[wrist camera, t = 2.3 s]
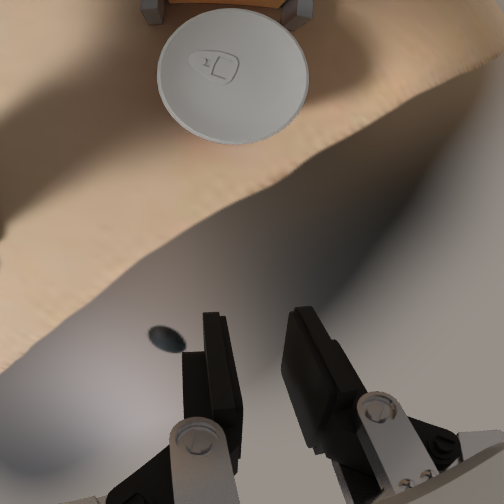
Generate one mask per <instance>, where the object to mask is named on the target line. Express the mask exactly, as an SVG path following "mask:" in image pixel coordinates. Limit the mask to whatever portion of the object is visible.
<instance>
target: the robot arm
mask: <svg viewBox="0 0 504 504" xmlns="http://www.w3.org/2000/svg"><path fill="white" fill-rule="evenodd" d="M203 332H204V333H203V335H204V351H202V352H182V372H183V373H182V376H183V405H184V420H182V421H180V422H178V423H177V424H176V425H175V426H174V427H173V429H172V431H171V433H170V438H169V443H170V444H169V445H168V446H167V447H166V448H165V449H163V450H162V451H161V452H160V453H158V454H157V455H156V456H155V457H153V458H152V459H151V460H150V461H148V462H147V463H146V464H145V465H143V466H142V467H141V468H140V469H138V470H137V471H136V472H135V473H133V474H132V475H130V476H129V477H128V478H127V479H125V480H124V481H123V482H121V483H120V484H119V485H117V486H116V487H115V488H113V489H112V490H111V491H110V492H109V493H108V495H106V496H102V497H99V498H96V497H95V496H92V497H88V498H84V499H79V500H75V501H71V502H66V503H60V504H240V501H239V497H238V492H237V488H236V483H235V479H234V475H235V474H236V473H237V469H238V459H240V457H241V442H242V424H243V402H242V396H241V391H240V387H239V382H238V377H237V372H236V367H235V362H234V357H233V352H232V347H231V342H230V337H229V331H228V326H227V321H226V317H225V316H220V315H219V312H205V313H203ZM281 373H282V377H283V380H284V382H285V385H286V388H287V391H288V394H289V397H290V400H291V402H292V405H293V408H294V411H295V414H296V416H297V419H298V422H299V425H300V428H301V430H302V433H303V436H304V439H305V442H306V444H307V446H308V448H312V447H313V450H314V453H315V455H318V454H322V453H325V455H326V457H327V458H329V459H331V461H332V465H333V468H334V471H335V473H336V476H337V479H338V482H339V485H340V487H341V490H342V493H343V496H344V498H345V501H346V504H504V432H503V431H501V430H487V431H474V432H458V433H457V435H455V434H454V433H453V432H451V431H449V430H447V429H443V428H440V427H437V426H434V425H431V424H428V423H425V422H422V421H420V420H417V419H414V418H411V417H408V416H407V415H406V414H405V412H404V410H403V409H402V407H401V405H400V403H399V402H398V401H397V400H396V399H395V398H394V397H393V396H391V395H389V394H387V393H384V392H379V391H374V392H369V393H368V392H367V390H366V389H365V387H364V386H363V384H362V382H361V380H360V378H359V377H358V375H357V373H356V372H355V370H354V368H353V366H352V365H351V363H350V361H349V359H348V358H347V356H346V354H345V353H344V351H343V349H342V348H341V346H340V344H339V343H338V342H337V341H336V340H335V339H334V340H331V338H330V336H329V335H328V333H327V332H326V329H325V328H324V326H323V324H322V323H321V321H320V319H319V317H318V316H317V314H316V312H315V311H314V309H313V307H312V306H304V307H295V309H294V311H292V312H290V313H289V318H288V324H287V331H286V337H285V345H284V351H283V357H282V363H281Z"/></svg>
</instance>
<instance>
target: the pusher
mask: <svg viewBox="0 0 504 504" xmlns="http://www.w3.org/2000/svg"><path fill="white" fill-rule="evenodd" d="M285 1H286V0H169V3H220V4H238V5H250V6H260V7H269V8H276V9H278V8H279V7H280V6H281V5H282V4H283V3H284V2H285Z"/></svg>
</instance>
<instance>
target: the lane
mask: <svg viewBox="0 0 504 504" xmlns="http://www.w3.org/2000/svg"><path fill="white" fill-rule="evenodd" d="M164 5H165V0H142V2H141V11H142V13H143V15H144V17H145V19H146V21H147V23H148V25H151V24H163V15H164ZM312 17H313V0H286V1H285V2H284V3H283V4H282V19H281V25H282V26H283V27H284V28H286V29H287V30H292V31H295V30H296V29H298V28H299V27H301V26H302V25H304V24H305V23H306V22H308V21H309V20H311V19H312Z"/></svg>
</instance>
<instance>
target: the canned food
mask: <svg viewBox="0 0 504 504" xmlns="http://www.w3.org/2000/svg"><path fill="white" fill-rule="evenodd" d="M157 83H158V90H159V94H160V96H161V99H162V101H163V104H164V106H165V107H166V109H167V110H168V112H169V113H170V115H171V116H172V117H173V118H174V119H175V120H176V121H177V122H178V123H179V124H180V125H181V126H182V127H183V128H185V129H186V130H188V131H189V132H191V133H192V134H194V135H196V136H198V137H201V138H203V139H205V140H208V141H212V142H216V143H220V144H233V145H239V144H247V143H254V142H257V141H260V140H264V139H267V138H269V137H271V136H273V135H275V134H277V133H278V132H280V131H281V130H282V129H284V128H285V127H286V126H287V125H289V124H290V123H291V122H292V120H293V119H294V118H295V117H296V116H297V115H298V113H299V111H300V109H301V108H302V106H303V104H304V102H305V99H306V96H307V92H308V86H309V71H308V64H307V61H306V58H305V55H304V52H303V50H302V49H301V47H300V45H299V44H298V42H297V40H296V39H295V38H294V37H293V36H292V34H291V33H290V32H289V31H288V30H287V29H286V28H284V27H283V26H282V25H281V24H279V23H278V22H277V21H275V20H273V19H271V18H269V17H267V16H265V15H263V14H261V13H258V12H254V11H251V10H246V9H238V8H225V9H216V10H212V11H208V12H204V13H202V14H200V15H197V16H195V17H193V18H191V19H189V20H188V21H187V22H185V23H184V24H182V25H181V26H180V27H178V29H177V30H176V31H175V32H174V33H173V34H172V35H171V36H170V37H169V39H168V40H167V42H166V44H165V46H164V47H163V49H162V51H161V55H160V58H159V61H158V67H157Z"/></svg>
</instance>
